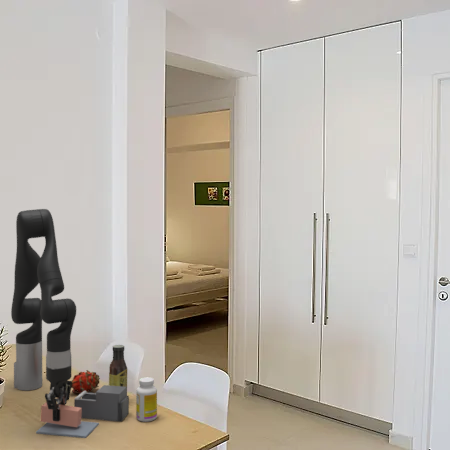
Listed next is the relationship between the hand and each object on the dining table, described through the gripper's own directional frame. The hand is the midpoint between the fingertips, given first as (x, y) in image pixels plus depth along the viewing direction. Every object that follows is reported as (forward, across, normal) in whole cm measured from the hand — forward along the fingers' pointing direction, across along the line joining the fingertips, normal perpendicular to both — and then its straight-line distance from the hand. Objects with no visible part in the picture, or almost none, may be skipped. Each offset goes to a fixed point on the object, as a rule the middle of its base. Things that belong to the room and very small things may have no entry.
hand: (59, 418), depth 176 cm
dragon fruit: (+3, -30, -5) cm, 31 cm away
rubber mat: (+3, 0, +3) cm, 4 cm away
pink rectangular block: (+1, 0, +1) cm, 1 cm away
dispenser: (+3, -12, +9) cm, 15 cm away
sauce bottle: (+3, -24, +10) cm, 26 cm away
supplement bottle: (+3, -13, +24) cm, 27 cm away
